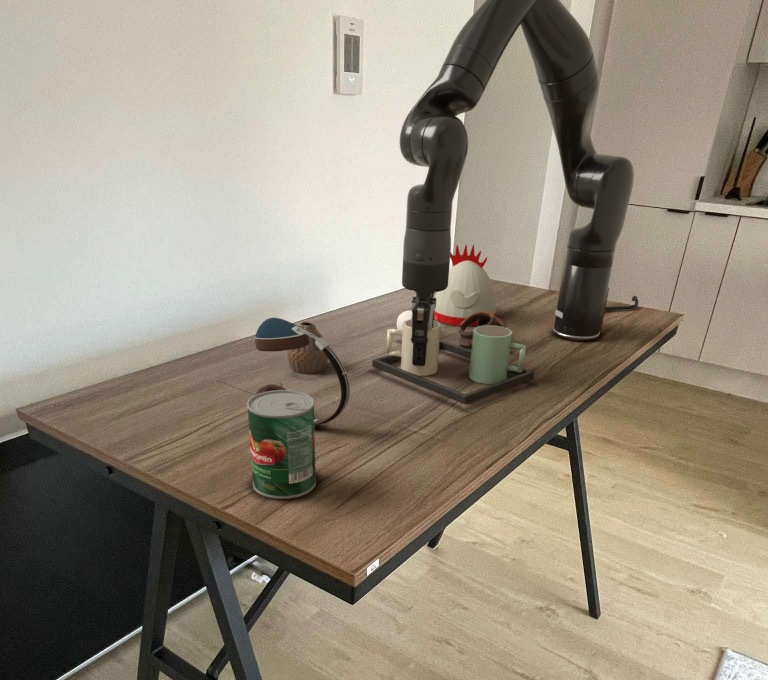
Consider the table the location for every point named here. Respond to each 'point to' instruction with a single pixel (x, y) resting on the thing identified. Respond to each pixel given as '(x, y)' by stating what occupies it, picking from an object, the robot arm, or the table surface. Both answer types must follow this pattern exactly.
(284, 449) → the canned tomato
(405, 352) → the cream cup
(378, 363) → the tray
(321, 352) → the vase
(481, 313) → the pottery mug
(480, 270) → the kitchen timer
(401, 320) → the stress ball
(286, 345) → the headphones
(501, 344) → the green cup
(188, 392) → the table surface
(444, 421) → the table surface
